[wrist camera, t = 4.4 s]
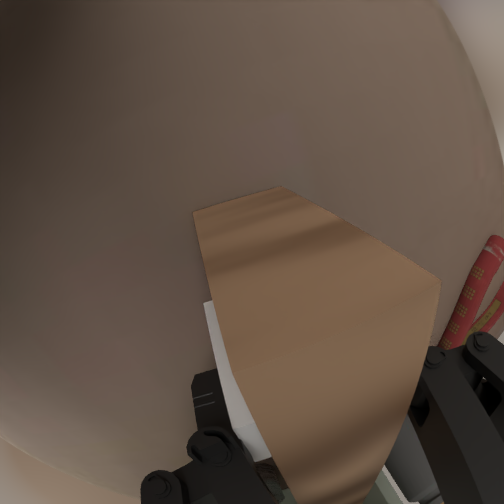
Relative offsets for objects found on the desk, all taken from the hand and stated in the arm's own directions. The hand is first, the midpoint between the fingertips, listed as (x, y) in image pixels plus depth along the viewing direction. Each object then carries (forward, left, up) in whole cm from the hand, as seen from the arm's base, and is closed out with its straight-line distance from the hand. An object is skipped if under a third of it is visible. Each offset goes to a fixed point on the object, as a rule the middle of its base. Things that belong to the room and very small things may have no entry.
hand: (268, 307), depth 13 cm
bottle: (+26, +11, -2) cm, 28 cm away
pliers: (+12, +17, -2) cm, 21 cm away
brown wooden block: (+6, 0, -1) cm, 6 cm away
